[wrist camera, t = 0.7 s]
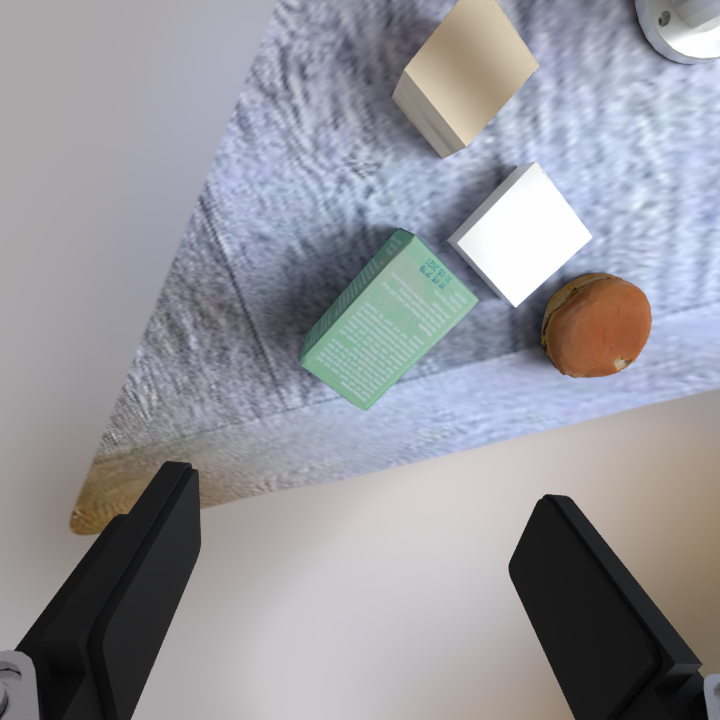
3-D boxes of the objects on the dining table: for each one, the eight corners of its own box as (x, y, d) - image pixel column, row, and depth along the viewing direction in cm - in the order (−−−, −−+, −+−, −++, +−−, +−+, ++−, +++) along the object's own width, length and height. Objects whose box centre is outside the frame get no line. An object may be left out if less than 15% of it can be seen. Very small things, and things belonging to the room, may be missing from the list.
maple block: (448, 26, 26) (478, -26, 20) (499, 95, 27) (539, 65, 22) (390, 98, 27) (404, 69, 22) (442, 159, 29) (466, 146, 23)
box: (302, 336, 34) (293, 368, 27) (397, 225, 31) (415, 229, 24) (358, 379, 36) (364, 419, 30) (453, 280, 33) (484, 298, 26)
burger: (585, 253, 33) (622, 260, 28) (646, 307, 35) (689, 321, 31) (511, 337, 36) (535, 355, 31) (572, 381, 38) (602, 403, 34)
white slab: (517, 166, 29) (536, 161, 26) (570, 234, 32) (592, 237, 29) (446, 240, 31) (456, 243, 28) (501, 299, 34) (515, 307, 31)
